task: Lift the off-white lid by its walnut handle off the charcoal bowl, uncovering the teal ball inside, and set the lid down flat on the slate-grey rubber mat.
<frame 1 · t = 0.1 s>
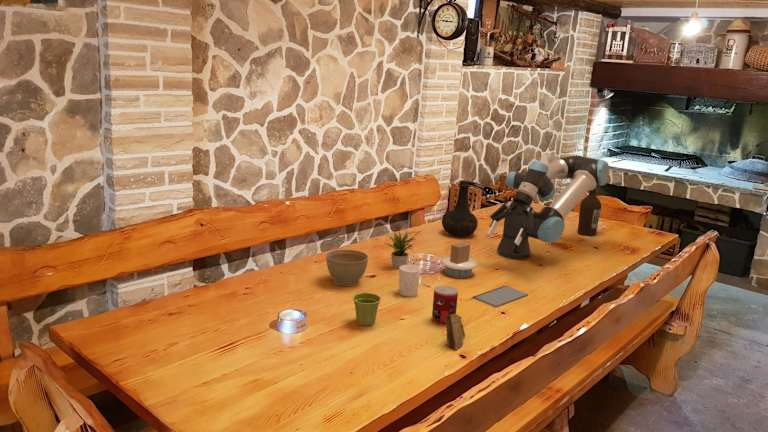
hand: (502, 239, 255), 15 cm above the table, tool tilted 35°, fingers open, 13 cm apart
olive oil: (586, 234, 329), on the table
black vase: (458, 235, 313), on the table
plant pot: (365, 322, 206), on the table
planter bowl: (346, 282, 240), on the table
rock: (457, 342, 196), on the table
mat: (490, 292, 238), on the table
house plant: (399, 269, 258), on the table
bowl: (458, 275, 255), on the table
ball: (458, 273, 255), point 1 cm above the table, touching bowl
lid: (459, 263, 254), point 5 cm above the table, touching bowl
canned food: (443, 320, 212), on the table
white cup: (408, 293, 233), on the table
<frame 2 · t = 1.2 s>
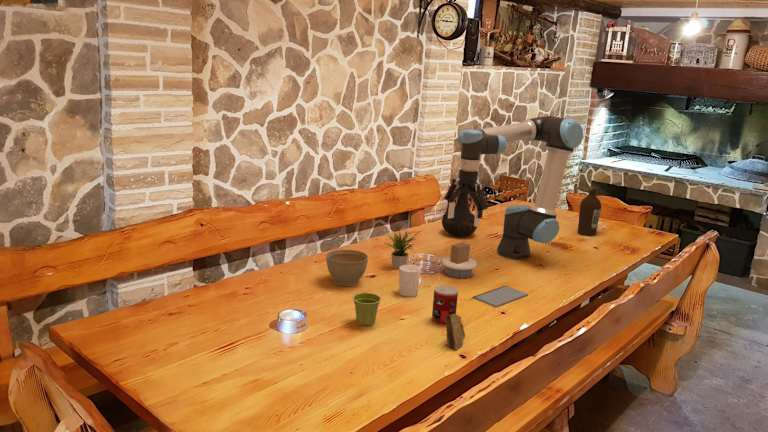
hand: (463, 221, 249), 23 cm above the table, tool pointing down, fingers open, 13 cm apart
nothing on the table moved.
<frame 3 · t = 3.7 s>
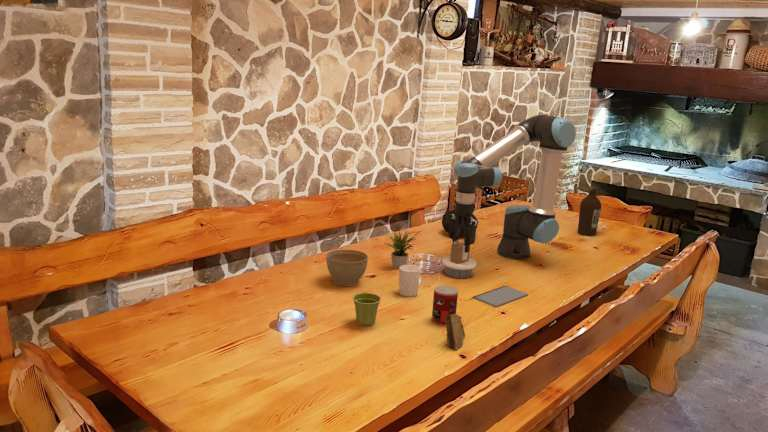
hand: (459, 257, 253), 8 cm above the table, tool pointing down, fingers closed on lid, 4 cm apart
lid: (459, 263, 254), point 5 cm above the table, touching bowl, gripper
everything else where it was.
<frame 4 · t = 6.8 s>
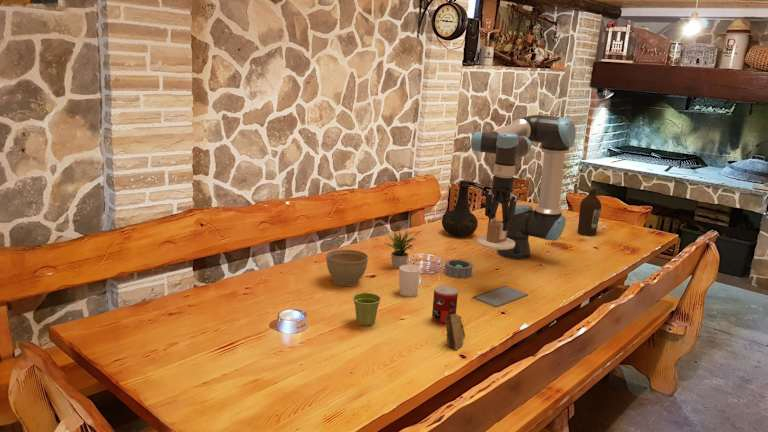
hand: (496, 237, 233), 22 cm above the table, tool pointing down, fingers closed on lid, 4 cm apart
lid: (495, 243, 233), point 20 cm above the table, touching gripper
everything else where it was.
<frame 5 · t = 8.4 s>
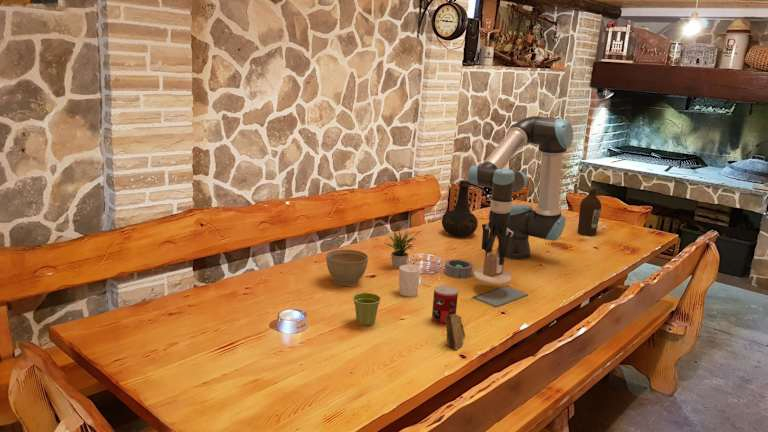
hand: (493, 270, 236), 9 cm above the table, tool pointing down, fingers closed on lid, 4 cm apart
lid: (492, 277, 237), point 6 cm above the table, touching gripper
everything else where it was.
when the fingers open (5 cm above the table, at t = 9.9 s): lid drops 1 cm, resting on mat.
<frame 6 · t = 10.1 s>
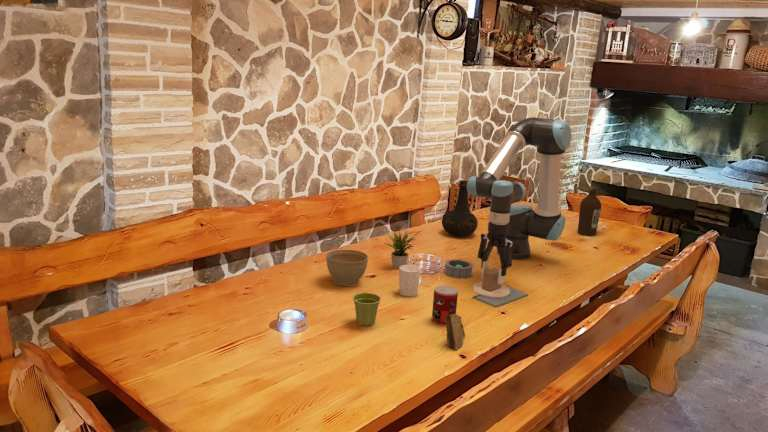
hand: (492, 280, 237), 5 cm above the table, tool pointing down, fingers open, 7 cm apart
lid: (491, 291, 238), point 1 cm above the table, touching mat
everything else where it was.
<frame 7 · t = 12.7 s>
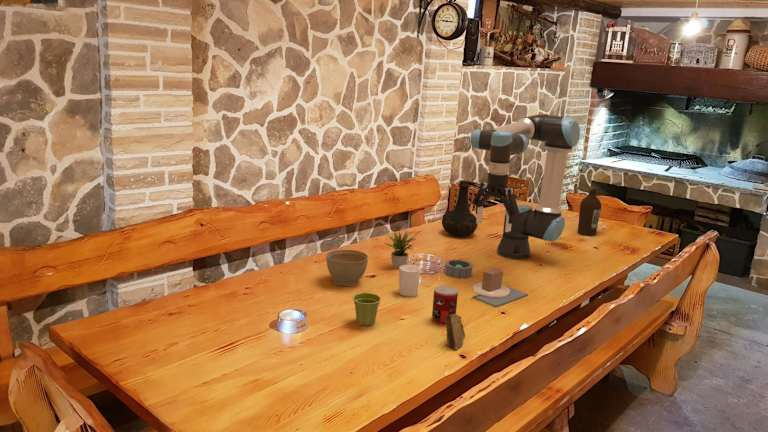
hand: (493, 227, 239), 24 cm above the table, tool pointing down, fingers open, 13 cm apart
nothing on the table moved.
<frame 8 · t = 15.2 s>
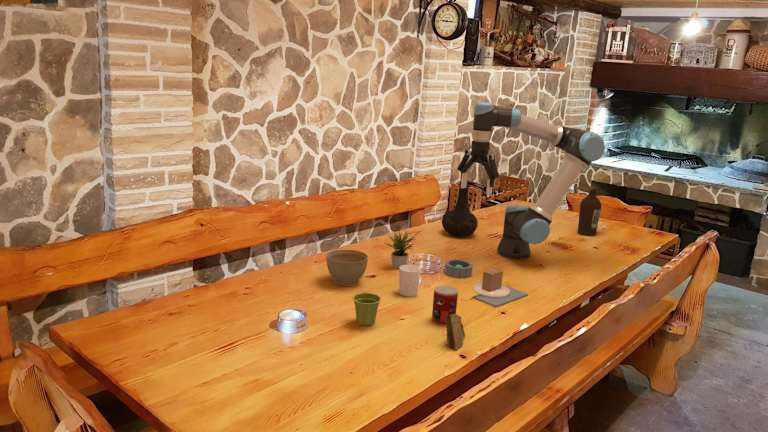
hand: (475, 191, 260), 33 cm above the table, tool pointing down, fingers open, 13 cm apart
nothing on the table moved.
at the end: lid inside the target area on the mat (0.0 cm from its centre), point 0.6 cm above the mat's base; lid touching mat; the gripper is holding nothing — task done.
